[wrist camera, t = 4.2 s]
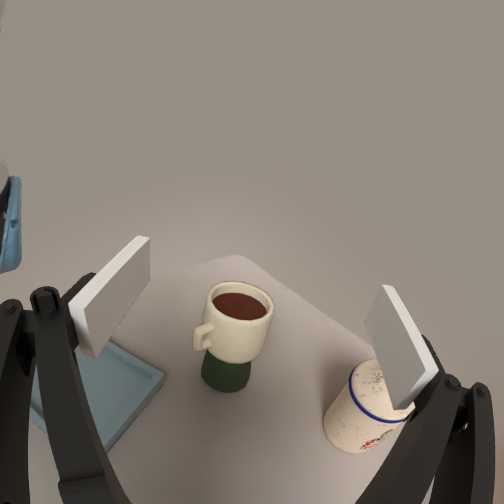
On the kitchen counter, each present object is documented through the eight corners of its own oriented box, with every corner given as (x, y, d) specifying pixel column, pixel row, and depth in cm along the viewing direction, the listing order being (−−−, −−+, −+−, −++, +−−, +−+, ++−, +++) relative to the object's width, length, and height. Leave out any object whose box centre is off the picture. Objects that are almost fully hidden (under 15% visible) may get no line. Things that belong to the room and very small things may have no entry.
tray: (5, 388, 21) (-1, 379, 20) (79, 327, 35) (76, 318, 34) (90, 473, 17) (85, 468, 17) (165, 382, 31) (164, 373, 31)
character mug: (238, 345, 40) (256, 271, 34) (272, 376, 36) (300, 302, 30) (174, 373, 33) (176, 294, 27) (206, 413, 29) (218, 340, 23)
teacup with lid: (359, 468, 23) (417, 420, 18) (306, 426, 29) (345, 368, 24) (400, 413, 31) (446, 359, 26) (355, 380, 37) (391, 322, 32)
